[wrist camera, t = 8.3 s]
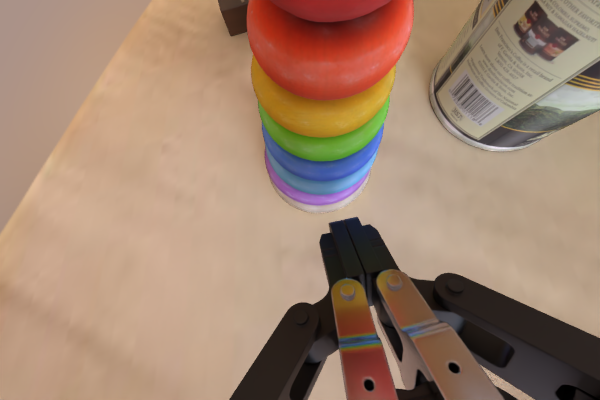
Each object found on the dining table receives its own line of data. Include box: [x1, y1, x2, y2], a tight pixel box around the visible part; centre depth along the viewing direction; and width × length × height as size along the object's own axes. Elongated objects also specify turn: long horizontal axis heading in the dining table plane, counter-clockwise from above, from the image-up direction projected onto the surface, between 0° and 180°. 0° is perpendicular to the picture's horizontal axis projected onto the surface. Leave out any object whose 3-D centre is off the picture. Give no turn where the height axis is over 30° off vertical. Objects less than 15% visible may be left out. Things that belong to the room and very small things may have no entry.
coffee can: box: [430, 0, 600, 151], centre depth 14 cm, size 10×10×14 cm
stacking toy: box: [247, 0, 414, 213], centre depth 11 cm, size 8×8×19 cm
